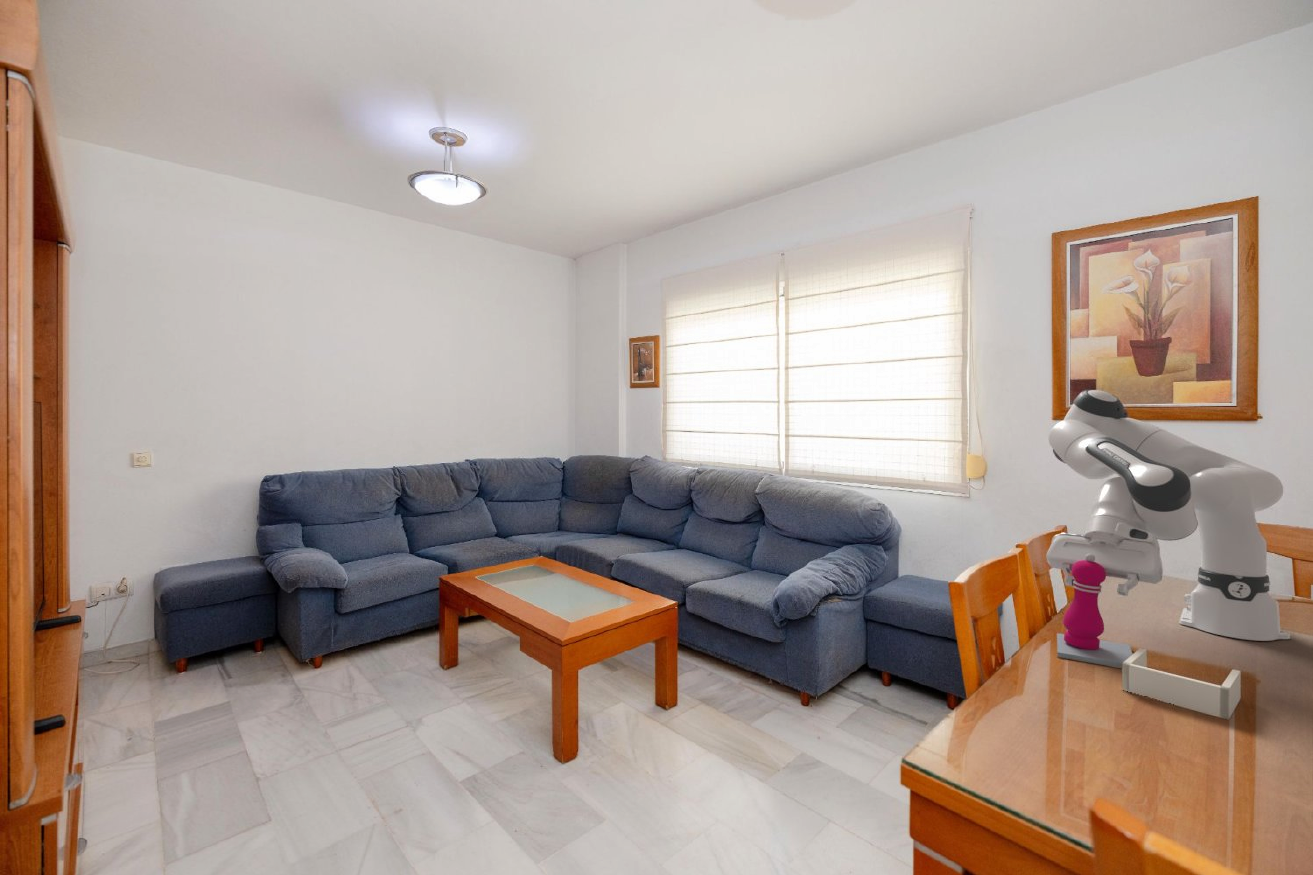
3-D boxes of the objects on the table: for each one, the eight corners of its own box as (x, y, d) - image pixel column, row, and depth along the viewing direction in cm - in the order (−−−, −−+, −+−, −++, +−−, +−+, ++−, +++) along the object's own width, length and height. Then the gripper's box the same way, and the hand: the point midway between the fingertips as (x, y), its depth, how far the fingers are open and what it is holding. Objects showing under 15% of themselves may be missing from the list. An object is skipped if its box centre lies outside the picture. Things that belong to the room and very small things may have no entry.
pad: (1056, 637, 134) (1056, 633, 134) (1129, 649, 126) (1129, 644, 126) (1057, 656, 122) (1057, 652, 122) (1137, 670, 115) (1137, 665, 115)
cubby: (1140, 673, 114) (1140, 647, 114) (1240, 698, 103) (1240, 670, 103) (1122, 690, 106) (1122, 663, 106) (1228, 719, 95) (1228, 689, 95)
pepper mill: (1109, 653, 122) (1119, 559, 121) (1071, 648, 123) (1080, 556, 122) (1090, 639, 129) (1100, 551, 128) (1054, 635, 130) (1063, 548, 129)
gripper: (1051, 523, 137) (1035, 571, 131) (1164, 535, 121) (1152, 590, 115) (1058, 540, 139) (1042, 587, 133) (1169, 553, 123) (1158, 608, 117)
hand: (1094, 588), depth 124 cm, fingers open, 8 cm apart
